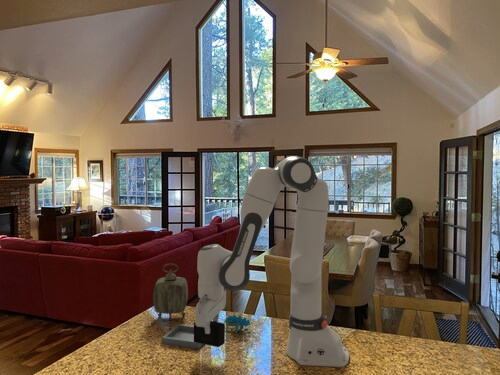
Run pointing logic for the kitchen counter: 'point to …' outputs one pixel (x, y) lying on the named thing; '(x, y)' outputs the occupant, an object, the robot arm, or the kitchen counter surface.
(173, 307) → the tabletop clock
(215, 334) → the digital camera
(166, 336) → the tray
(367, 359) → the kitchen counter surface
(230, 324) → the blue lumpy piece
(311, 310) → the robot arm
